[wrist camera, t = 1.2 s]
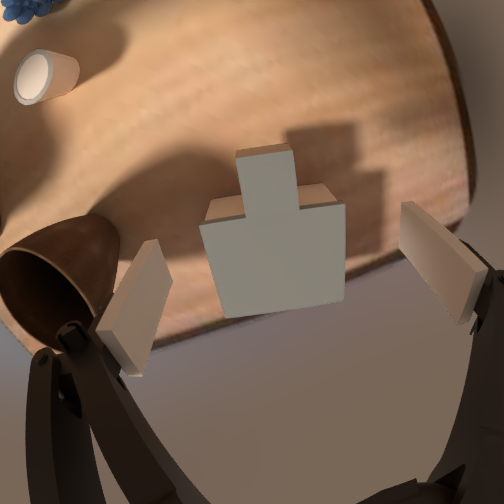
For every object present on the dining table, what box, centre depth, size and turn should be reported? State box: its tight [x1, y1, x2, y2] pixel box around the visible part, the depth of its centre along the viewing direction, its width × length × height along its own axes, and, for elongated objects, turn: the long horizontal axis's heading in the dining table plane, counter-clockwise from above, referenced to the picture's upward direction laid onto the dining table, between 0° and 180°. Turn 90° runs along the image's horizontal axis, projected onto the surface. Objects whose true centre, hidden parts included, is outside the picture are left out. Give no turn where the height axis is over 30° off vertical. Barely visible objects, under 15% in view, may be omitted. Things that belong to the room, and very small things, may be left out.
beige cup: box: [13, 49, 80, 105], centre depth 21 cm, size 7×7×7 cm
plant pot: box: [0, 215, 120, 353], centre depth 30 cm, size 15×15×16 cm
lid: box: [199, 143, 346, 318], centre depth 30 cm, size 15×19×4 cm
